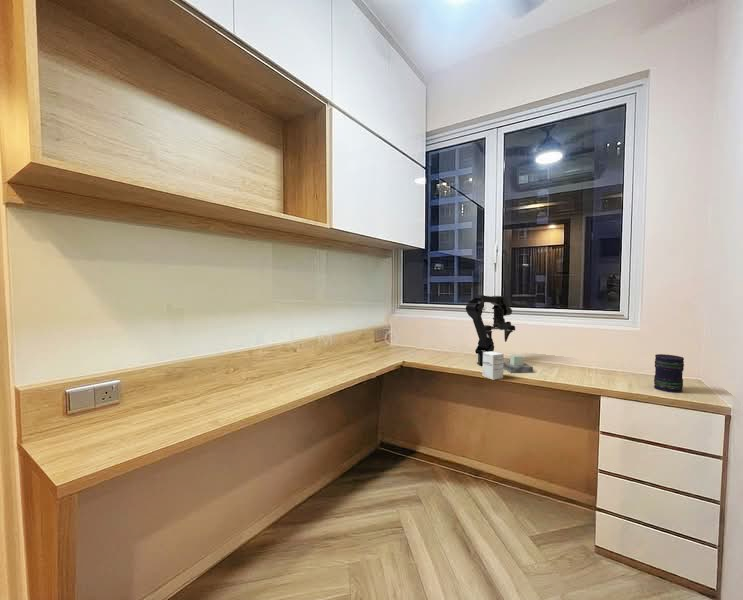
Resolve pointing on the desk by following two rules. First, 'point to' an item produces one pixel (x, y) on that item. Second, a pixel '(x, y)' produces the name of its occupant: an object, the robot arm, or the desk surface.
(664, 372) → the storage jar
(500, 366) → the supplement box
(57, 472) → the desk surface
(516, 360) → the sage cube
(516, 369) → the charcoal base
